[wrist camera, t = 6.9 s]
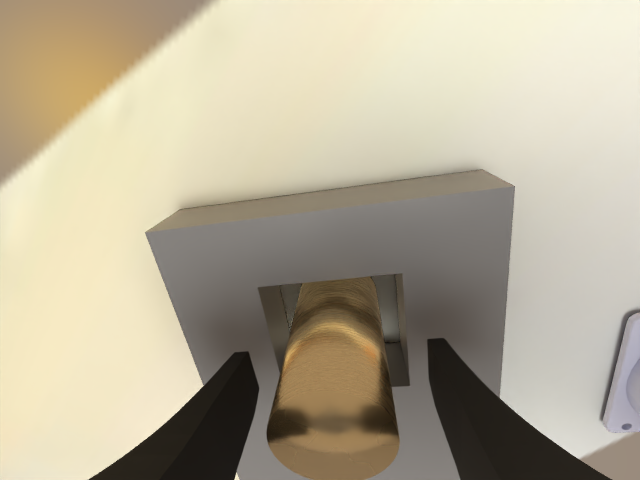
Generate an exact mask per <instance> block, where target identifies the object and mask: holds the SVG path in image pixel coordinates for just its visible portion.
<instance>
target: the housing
mask: <svg viewBox="0 0 640 480" xmlns="http://www.w3.org/2000/svg"><path fill="white" fill-rule="evenodd" d="M514 191H515V186H513V185H512V184H510V183H508V182H506V181H504V180H502V179H500V178H498V177H496V176H494V175H492V174H490V173H488V172H486V171H484V170H475V171H467V172H459V173H452V174H444V175H437V176H429V177H422V178H414V179H407V180H399V181H392V182H384V183H377V184H369V185H362V186H354V187H347V188H339V189H331V190H324V191H316V192H309V193H301V194H294V195H286V196H279V197H271V198H264V199H256V200H249V201H241V202H234V203H226V204H219V205H211V206H203V207H196V208H188V209H181V210H179V211H177V212H175V213H174V214H172V215H171V216H169V217H168V218H166V219H165V220H163V221H162V222H160V223H159V224H157V225H156V226H154V227H153V228H151V229H150V230H148V231H146V232H145V234H146V236H147V239H148V242H149V244H150V247H151V249H152V252H153V255H154V257H155V260H156V262H157V265H158V268H159V270H160V273H161V276H162V278H163V281H164V283H165V286H166V289H167V291H168V294H169V296H170V299H171V302H172V304H173V307H174V309H175V312H176V315H177V317H178V320H179V323H180V325H181V328H182V330H183V333H184V336H185V338H186V341H187V343H188V346H189V349H190V351H191V354H192V356H193V359H194V362H195V364H196V367H197V370H198V372H199V375H200V377H201V380H202V383H203V385H205V384H206V383H207V382H208V381H209V380H210V379H211V377H212V376H213V375H214V374H215V373H216V372H217V371H218V370H219V369H220V368H221V366H222V365H223V364H224V363H225V362H226V361H227V360H228V359H229V358H230V357H231V355H232V354H233V353H234V352H245V351H249V355H250V358H251V361H252V365H253V368H254V371H255V375H256V378H257V381H258V385H259V394H258V400H257V405H256V410H255V414H254V418H253V421H252V424H251V428H250V431H249V434H248V437H247V440H246V443H245V446H244V450H243V453H242V456H241V459H240V462H239V465H238V468H237V474H238V477H239V479H240V480H312V479H308V478H306V477H303V476H301V475H299V474H296V473H295V472H293V471H291V470H289V469H288V468H287V467H285V466H284V465H283V464H282V463H281V462H280V461H278V459H277V458H276V457H275V456H274V455H273V453H272V451H271V450H270V447H269V445H268V442H267V435H266V431H267V425H268V421H269V417H270V413H271V409H272V405H273V400H274V396H275V392H276V388H277V384H278V380H279V376H280V372H281V368H282V363H283V359H284V355H285V351H286V347H287V343H288V339H289V335H290V331H289V326H288V322H287V318H286V313H285V309H284V305H283V300H282V296H281V292H280V287H279V285H287V284H297V283H307V282H318V281H328V280H338V279H348V278H359V277H369V276H379V275H390V274H395V278H396V291H397V304H398V317H399V330H400V342H399V343H385V348H386V355H387V361H388V367H389V374H390V380H391V387H392V393H393V399H394V406H395V412H396V418H397V425H398V431H399V437H400V445H399V450H398V453H397V456H396V457H395V459H394V461H393V462H392V463H391V464H390V465H389V466H388V467H387V468H386V469H385V470H384V471H382V472H380V473H379V474H377V475H375V476H373V477H371V478H368V479H365V480H460V477H459V474H458V470H457V467H456V464H455V461H454V459H453V456H452V453H451V450H450V447H449V444H448V442H447V439H446V436H445V433H444V430H443V427H442V425H441V422H440V419H439V416H438V413H437V410H436V407H435V404H434V400H433V396H432V391H431V387H430V383H429V375H428V348H427V339H433V338H444V339H446V340H447V341H448V343H449V344H450V345H451V347H452V348H453V349H454V350H455V352H456V353H457V354H458V355H459V356H460V358H461V359H462V360H463V361H464V362H465V363H466V364H467V366H468V367H469V368H470V369H471V370H472V371H473V372H474V373H475V374H476V375H477V376H478V377H479V378H480V379H481V381H482V382H483V383H484V384H485V385H486V386H487V387H488V388H489V389H490V390H491V391H493V392H494V393H495V394H496V395H497V396H498V397H499V398H500V384H501V370H502V356H503V342H504V329H505V315H506V301H507V287H508V274H509V260H510V246H511V232H512V218H513V205H514Z"/></svg>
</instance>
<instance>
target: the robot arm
mask: <svg viewBox="0 0 640 480" xmlns="http://www.w3.org/2000/svg"><path fill="white" fill-rule="evenodd" d="M427 348H428V375H429V383H430V387H431V391H432V396H433V400H434V404H435V407H436V410H437V413H438V416H439V419H440V422H441V425H442V427H443V430H444V433H445V436H446V439H447V442H448V444H449V447H450V450H451V453H452V456H453V459H454V461H455V464H456V467H457V470H458V474H459V477H460V480H612V479H610V478H608V477H606V476H605V475H603V474H601V473H600V472H598V471H596V470H595V469H593V468H591V467H590V466H588V465H587V464H585V463H584V462H582V461H581V460H579V459H578V458H576V457H574V456H573V455H571V454H570V453H568V452H567V451H566V450H564V449H563V448H561V447H560V446H559V445H557V444H556V443H554V442H553V441H552V440H550V439H549V438H547V437H546V436H545V435H543V434H542V433H540V432H539V431H538V430H537V429H535V428H534V427H533V426H532V425H530V424H529V423H528V422H526V421H525V420H524V419H523V418H522V417H520V416H519V415H518V414H517V413H516V412H514V411H513V410H512V409H511V408H510V407H509V406H508V405H506V404H505V403H504V402H503V401H502V400H501V399H500V398H499V397H498V396H497V395H496V394H495V393H494V392H493V391H491V390H490V389H489V388H488V387H487V386H486V385H485V384H484V383H483V382H482V381H481V379H480V378H479V377H478V376H477V375H476V374H475V373H474V372H473V371H472V370H471V369H470V368H469V367H468V366H467V364H466V363H465V362H464V361H463V360H462V359H461V358H460V356H459V355H458V354H457V353H456V352H455V350H454V349H453V348H452V347H451V345H450V344H449V343H448V341H447V340H446V339H444V338H433V339H427ZM258 394H259V385H258V381H257V378H256V375H255V371H254V368H253V365H252V361H251V358H250V355H249V351H245V352H234V353H233V354H232V355H231V357H230V358H229V359H228V360H227V361H226V362H225V363H224V364H223V365H222V366H221V368H220V369H219V370H218V371H217V372H216V373H215V374H214V375H213V376H212V377H211V379H210V380H209V381H208V382H207V383H206V384H205V385H204V386H203V387H202V388H201V389H200V390H199V391H198V392H197V393H196V394H195V395H194V396H193V397H192V398H191V399H190V400H189V401H188V402H187V403H186V404H185V405H184V406H183V407H182V408H181V409H180V410H179V411H178V412H177V413H176V414H175V415H174V416H173V417H172V418H171V419H170V420H168V421H167V422H166V423H165V424H164V425H163V426H161V427H160V428H159V429H158V430H157V431H156V432H154V433H153V434H152V435H151V436H149V437H148V438H147V439H146V440H144V441H143V442H142V443H140V444H139V445H138V446H136V447H135V448H134V449H133V450H131V451H130V452H129V453H127V454H126V455H125V456H123V457H122V458H120V459H119V460H117V461H116V462H115V463H113V464H112V465H110V466H109V467H107V468H106V469H104V470H103V471H101V472H100V473H98V474H97V475H95V476H93V477H92V478H90V479H89V480H234V479H235V475H236V472H237V468H238V465H239V462H240V459H241V456H242V453H243V450H244V446H245V443H246V440H247V437H248V434H249V431H250V428H251V424H252V421H253V418H254V414H255V410H256V405H257V400H258ZM603 425H604V426H605V428H606V429H607V430H608V431H610V432H615V433H616V432H640V313H636V314H634V315H632V316H631V317H629V319H628V321H627V323H626V328H625V332H624V336H623V340H622V344H621V348H620V352H619V356H618V360H617V365H616V369H615V373H614V377H613V381H612V385H611V389H610V393H609V398H608V402H607V406H606V410H605V414H604V418H603Z"/></svg>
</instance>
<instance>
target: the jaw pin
mask: <svg viewBox="0 0 640 480" xmlns="http://www.w3.org/2000/svg"><path fill="white" fill-rule="evenodd" d="M266 435H267V442H268V445H269V447H270V450H271V451H272V453H273V455H274V456H275V457H276V458H277V459H278V461H280V462H281V463H282V464H283V465H284V466H285V467H287V468H288V469H289V470H291V471H293V472H295V473H296V474H299V475H301V476H303V477H306V478H308V479H312V480H365V479H368V478H371V477H373V476H375V475H377V474H379V473H380V472H382V471H384V470H385V469H386V468H387V467H388V466H389V465H390V464H391V463H392V462H393V461H394V459H395V457H396V456H397V453H398V450H399V445H400V437H399V431H398V425H397V418H396V412H395V406H394V399H393V393H392V387H391V380H390V374H389V367H388V361H387V355H386V348H385V342H384V336H383V329H382V323H381V316H380V310H379V304H378V297H377V291H376V287H375V284H374V282H373V280H372V279H371V277H370V276H369V277H359V278H348V279H338V280H328V281H318V282H307V283H302V286H301V290H300V294H299V298H298V302H297V306H296V310H295V314H294V318H293V322H292V327H291V331H290V335H289V339H288V343H287V347H286V351H285V355H284V359H283V363H282V368H281V372H280V376H279V380H278V384H277V388H276V392H275V396H274V400H273V405H272V409H271V413H270V417H269V421H268V425H267V431H266Z"/></svg>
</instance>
